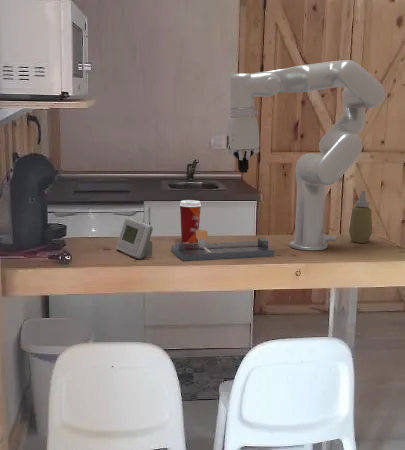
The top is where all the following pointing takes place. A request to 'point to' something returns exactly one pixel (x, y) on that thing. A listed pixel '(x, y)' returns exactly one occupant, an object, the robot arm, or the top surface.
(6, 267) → the top surface
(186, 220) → the paper cup
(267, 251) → the grey slider board
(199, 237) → the fader tab
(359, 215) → the squeeze bottle
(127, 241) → the digital clock
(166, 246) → the top surface
